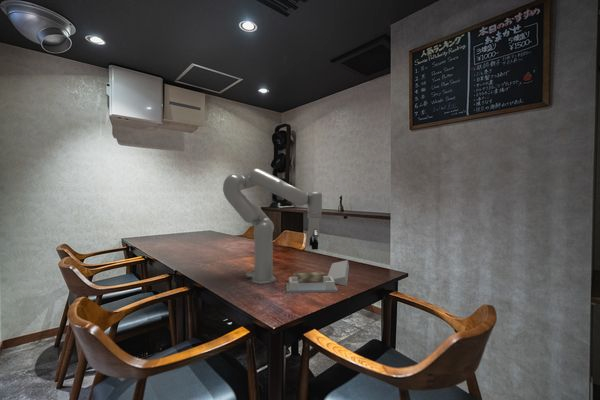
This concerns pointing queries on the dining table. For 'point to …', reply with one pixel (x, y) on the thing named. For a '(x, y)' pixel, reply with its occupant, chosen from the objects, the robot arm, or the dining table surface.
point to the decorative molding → (339, 272)
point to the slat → (309, 277)
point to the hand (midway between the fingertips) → (313, 247)
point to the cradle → (311, 285)
